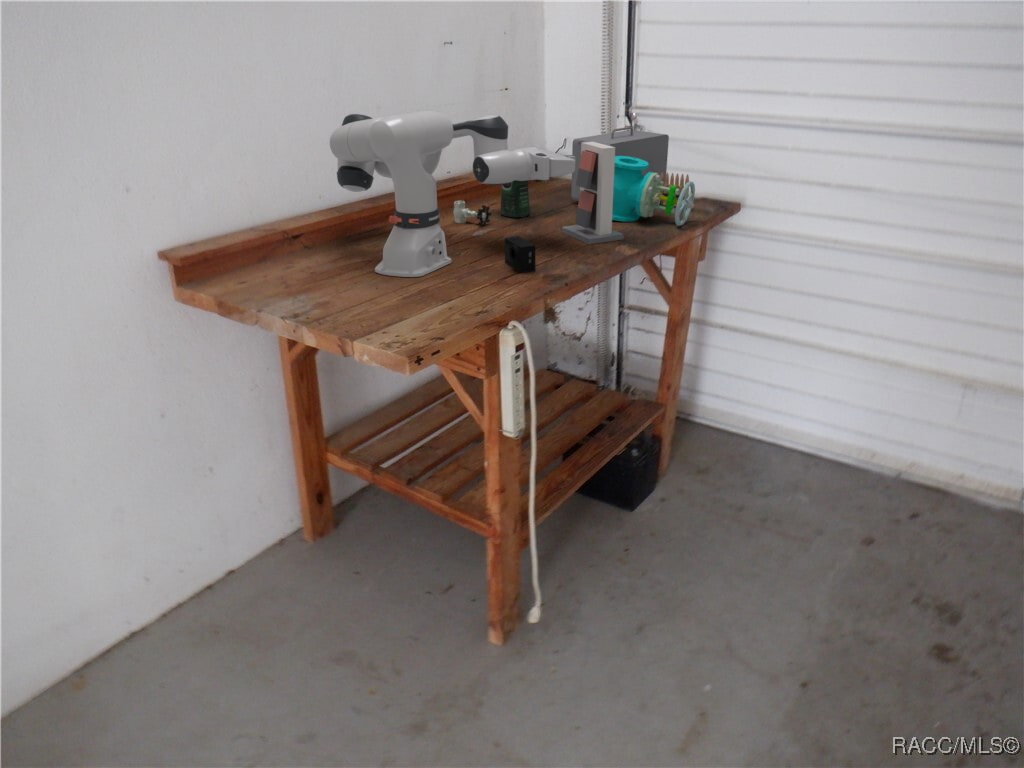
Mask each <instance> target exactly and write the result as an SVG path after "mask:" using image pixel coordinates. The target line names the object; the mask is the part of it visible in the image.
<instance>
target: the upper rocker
mask: <svg viewBox="0 0 1024 768" xmlns="http://www.w3.org/2000/svg"><path fill="white" fill-rule="evenodd" d="M595 159H596V154H594V153H591V152H587V151H582V154H581V159H580V165H579V170H578V175H577V180H576V185H577V186H579V187H582V188H585V189H590V185H591V180H592V175H593V169H594V164H595Z"/></svg>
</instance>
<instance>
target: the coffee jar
mask: <svg viewBox="0 0 1024 768" xmlns="http://www.w3.org/2000/svg"><path fill="white" fill-rule="evenodd" d="M500 186H501V191H500V192H501V193H500V194H501V195H500V214H501V215H502V216H505V217H509V218H514V219H515V218H525V217H528V216H530V207H531V206H530V198H529V197H530V194H529V180H526V181H517V180H515V181H512V182H510V183H505V184H501V185H500Z"/></svg>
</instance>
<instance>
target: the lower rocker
mask: <svg viewBox="0 0 1024 768" xmlns="http://www.w3.org/2000/svg"><path fill="white" fill-rule="evenodd" d="M594 196H595V194H592V193H589V192H587V191H583V190H581V192H580V197H579V201H578V204H577V209H576V215H575V221H574V225H579V226H581V227H584V228H589V223H590V218H591V212H592V207H593V201H594Z"/></svg>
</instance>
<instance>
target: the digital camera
mask: <svg viewBox="0 0 1024 768" xmlns="http://www.w3.org/2000/svg"><path fill="white" fill-rule="evenodd" d="M504 263H505V264H507V265H508V266H510V267H511V268H512V269H515V270H516V271H517V272H520V273H522V274H523V273H527V272H534V271H536V245H535V244H533V243H532V242H529V241H528V240H526V239H525V238H523V237H521V236H509V237H508V236H507V237H505V238H504Z"/></svg>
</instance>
